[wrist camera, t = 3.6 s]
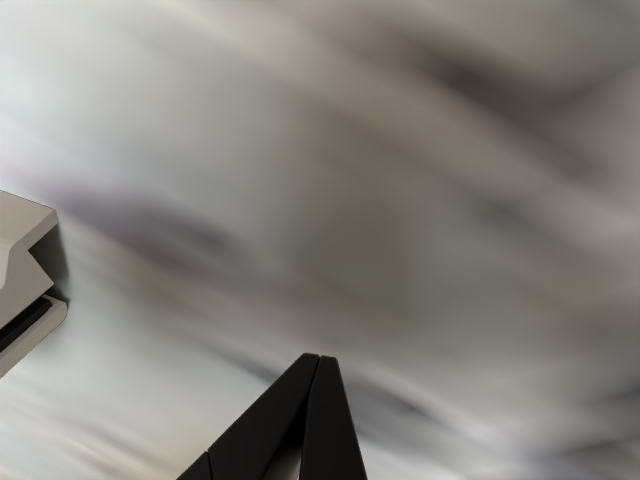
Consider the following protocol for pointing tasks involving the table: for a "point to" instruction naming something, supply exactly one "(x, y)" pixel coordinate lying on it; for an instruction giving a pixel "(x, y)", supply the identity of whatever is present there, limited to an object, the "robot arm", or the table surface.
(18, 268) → the hinge
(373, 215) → the table surface
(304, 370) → the robot arm
